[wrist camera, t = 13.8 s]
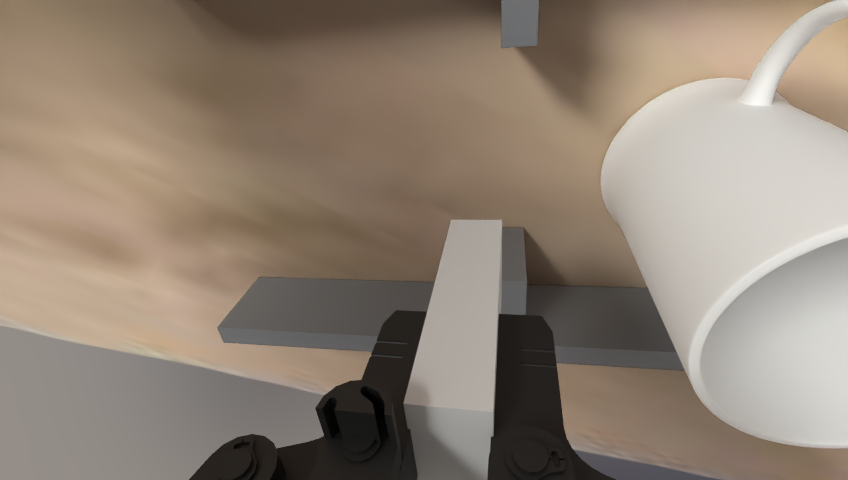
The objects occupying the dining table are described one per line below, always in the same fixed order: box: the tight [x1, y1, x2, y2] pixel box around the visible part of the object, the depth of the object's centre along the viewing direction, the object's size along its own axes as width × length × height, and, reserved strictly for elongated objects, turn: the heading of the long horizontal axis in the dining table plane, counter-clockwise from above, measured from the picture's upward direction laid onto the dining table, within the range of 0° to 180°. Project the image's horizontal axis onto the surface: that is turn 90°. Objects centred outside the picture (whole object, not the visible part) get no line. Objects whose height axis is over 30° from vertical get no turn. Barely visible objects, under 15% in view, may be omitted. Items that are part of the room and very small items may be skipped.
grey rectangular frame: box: [217, 0, 685, 371], centre depth 19 cm, size 20×34×5 cm, turn 95°
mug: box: [601, 0, 848, 448], centre depth 15 cm, size 12×8×12 cm
